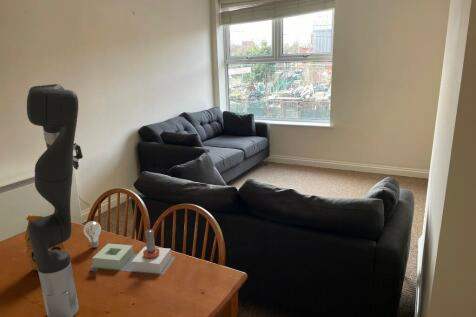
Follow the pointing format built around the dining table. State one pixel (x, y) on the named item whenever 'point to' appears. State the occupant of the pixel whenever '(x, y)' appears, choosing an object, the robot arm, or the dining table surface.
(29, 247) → the coffee package
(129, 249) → the square hole base
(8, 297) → the dining table surface
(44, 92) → the robot arm
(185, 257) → the dining table surface
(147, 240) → the red flanged grey peg
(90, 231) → the light bulb
